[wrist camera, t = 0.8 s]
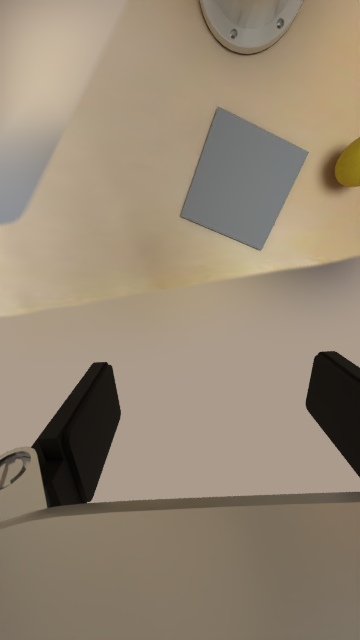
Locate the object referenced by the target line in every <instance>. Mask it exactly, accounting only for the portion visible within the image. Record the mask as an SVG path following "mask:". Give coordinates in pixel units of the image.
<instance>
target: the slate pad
mask: <svg viewBox="0 0 360 640" xmlns="http://www.w3.org/2000/svg"><path fill="white" fill-rule="evenodd" d="M308 153H309V152H307V151H305V150H303V149H302V148H300V147H298V146H296V145H294V144H292V143H290V142H288V141H286V140H284V139H282V138H280V137H278V136H276V135H274V134H272V133H270V132H268V131H266V130H264V129H262V128H260V127H258V126H256V125H254V124H252V123H250V122H248V121H246V120H244V119H242V118H240V117H238V116H236V115H234V114H232V113H230V112H228V111H226V110H224V109H222V108H220V107H218V108H217V111H216V114H215V117H214V120H213V123H212V126H211V129H210V132H209V134H208V137H207V140H206V143H205V146H204V149H203V152H202V155H201V158H200V161H199V164H198V167H197V169H196V172H195V175H194V178H193V181H192V184H191V187H190V190H189V193H188V196H187V199H186V201H185V204H184V207H183V210H182V213H181V216H180V217H182V218H185V219H187V220H190V221H192V222H194V223H197V224H199V225H201V226H204V227H206V228H208V229H211V230H213V231H216V232H218V233H220V234H223V235H225V236H227V237H230V238H232V239H234V240H237V241H239V242H242V243H244V244H246V245H249V246H251V247H253V248H256V249H258V250H262V248H263V246H264V244H265V242H266V240H267V238H268V236H269V234H270V231H271V229H272V227H273V225H274V223H275V221H276V219H277V217H278V215H279V213H280V211H281V209H282V207H283V205H284V203H285V200H286V198H287V196H288V194H289V192H290V190H291V188H292V186H293V184H294V182H295V180H296V178H297V176H298V174H299V171H300V169H301V167H302V165H303V163H304V161H305V159H306V157H307V155H308Z"/></svg>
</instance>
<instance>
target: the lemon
mask: <svg viewBox="0 0 360 640" xmlns="http://www.w3.org/2000/svg"><path fill="white" fill-rule="evenodd" d="M335 177H336V179H337V181H338V182H339V183H340V184H342V185H343V186H347V187H357V186H360V137H359V138H358V139H356V140H355V141H354V142H352V143H351V144H350V145H349V146H348V147H347V148H346V149H345V150H344V151H343V152H342V154H341V155H340V157H339V158H338V160H337V163H336V166H335Z"/></svg>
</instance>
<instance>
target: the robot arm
mask: <svg viewBox="0 0 360 640" xmlns="http://www.w3.org/2000/svg"><path fill="white" fill-rule="evenodd" d="M302 2H303V0H200V4H201V8H202V12H203V16H204V18H205V20H206V23H207V25H208V27H209V29H210V30H211V32H212V33H213V35H214V36H215V38H216V39H217V40H218V41H219V42H220V43H221V44H222V45H223V46H225V47H227V48H228V49H230V50H231V51H235V52H238V53H243V54H252V53H256V52H260V51H262V50H264V49H267V48H269V47H270V46H271V45H273V44H274V43H275V42H277V41H278V40H279V39H280V38H281V37H282V36H283V35H284V33H285V32H286V31H287V30H288V28H289V27H290V25H291V24H292V22H293V21H294V19H295V17H296V15H297V13H298V11H299V9H300V7H301V5H302ZM306 408H307V410H308V411H309V413H310V414H311V415H312V416H313V418H314V419H315V420H316V422H317V423H318V424H319V426H320V427H321V428H322V429H323V431H324V432H325V433H326V435H327V436H328V437H329V438H330V440H331V441H332V442H333V444H334V445H335V446H336V447H337V449H338V450H339V451H340V452H341V454H342V455H343V456H344V458H345V459H346V460H347V462H348V463H349V464H350V465H351V467H352V468H353V469H354V471H355V472H356V473H357V474H358V476H359V477H360V368H359V367H358V366H356V365H355V364H353V363H352V362H350V361H349V360H347V359H346V358H344V357H343V356H342V355H340V354H339V353H337V352H335V351H328V352H319V353H318V355H316V356H315V358H314V363H313V367H312V373H311V378H310V383H309V388H308V393H307V398H306ZM120 415H121V410H120V405H119V400H118V395H117V389H116V384H115V379H114V375H113V369H112V366H111V365H108V363H107V362H97V363H93V364H92V365H91V367H90V368H89V369H88V371H87V372H86V374H85V375H84V376H83V378H82V379H81V380H80V382H79V383H78V384H77V386H76V387H75V388H74V390H73V391H72V393H71V394H70V395H69V396H68V398H67V399H66V401H65V402H64V403H63V405H62V406H61V408H60V409H59V410H58V411H57V413H56V414H55V416H54V417H53V418H52V420H51V421H50V422H49V424H48V425H47V426H46V428H45V429H44V430H43V432H42V433H41V435H40V436H39V437H38V439H37V440H36V441H35V443H34V444H33V446H32V447H20V448H16V449H13V450H11V451H8V452H6V453H4V454H3V455H1V456H0V640H360V492H339V493H308V494H280V495H253V496H227V497H202V498H178V499H156V500H132V501H117V502H101V503H87V502H90V501H91V500H92V498H93V496H94V493H95V490H96V487H97V484H98V481H99V478H100V475H101V473H102V470H103V467H104V464H105V461H106V458H107V455H108V452H109V449H110V446H111V443H112V440H113V437H114V434H115V432H116V429H117V426H118V423H119V420H120Z"/></svg>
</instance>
